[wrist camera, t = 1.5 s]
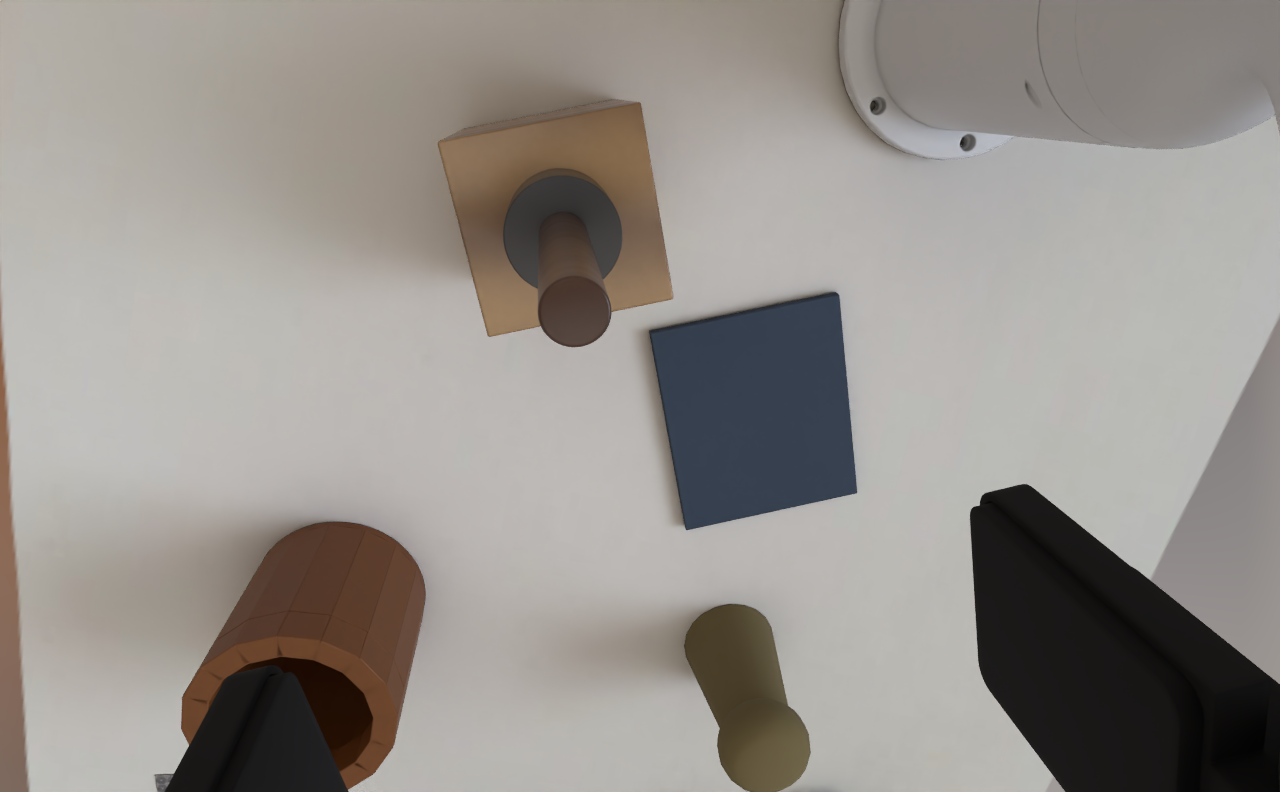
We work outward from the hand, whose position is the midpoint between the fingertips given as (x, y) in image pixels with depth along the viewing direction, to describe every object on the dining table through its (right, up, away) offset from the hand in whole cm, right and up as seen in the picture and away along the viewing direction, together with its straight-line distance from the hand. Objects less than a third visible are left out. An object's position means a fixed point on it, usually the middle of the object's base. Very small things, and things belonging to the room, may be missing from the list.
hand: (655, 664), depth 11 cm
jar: (-19, -8, +39) cm, 44 cm away
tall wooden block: (-5, +14, +32) cm, 35 cm away
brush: (-3, +11, +22) cm, 24 cm away
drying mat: (+7, +3, +38) cm, 39 cm away
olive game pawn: (+6, -13, +44) cm, 46 cm away
